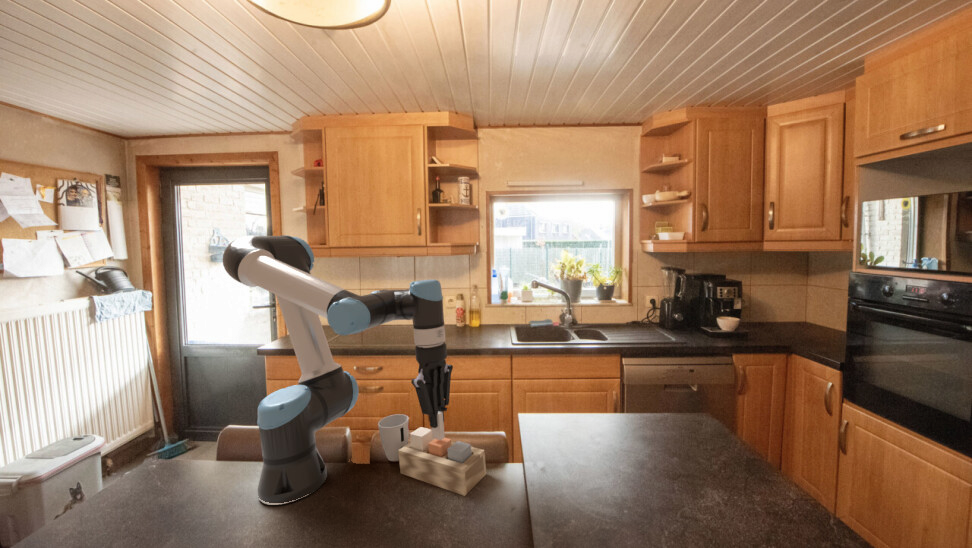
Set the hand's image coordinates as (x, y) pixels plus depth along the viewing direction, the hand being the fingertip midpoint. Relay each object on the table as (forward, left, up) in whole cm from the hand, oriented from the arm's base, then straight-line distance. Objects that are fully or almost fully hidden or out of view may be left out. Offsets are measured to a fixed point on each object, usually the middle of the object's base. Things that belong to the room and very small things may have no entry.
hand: (438, 437), depth 92 cm
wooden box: (0, 0, -9) cm, 9 cm away
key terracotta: (0, 0, -7) cm, 7 cm away
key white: (-6, 0, -6) cm, 8 cm away
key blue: (+6, 0, -7) cm, 9 cm away
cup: (-17, +1, -9) cm, 19 cm away
